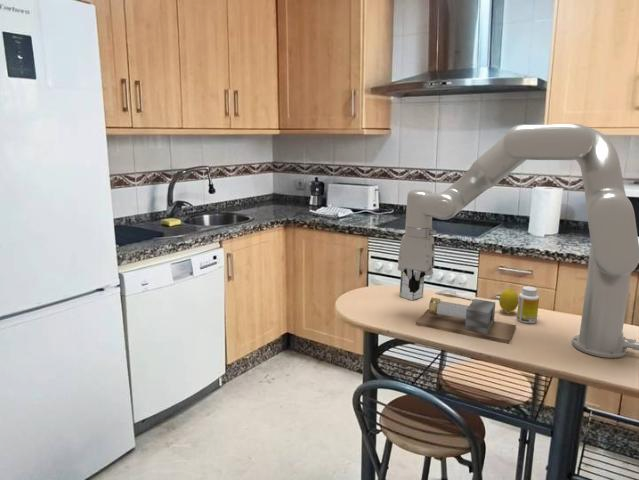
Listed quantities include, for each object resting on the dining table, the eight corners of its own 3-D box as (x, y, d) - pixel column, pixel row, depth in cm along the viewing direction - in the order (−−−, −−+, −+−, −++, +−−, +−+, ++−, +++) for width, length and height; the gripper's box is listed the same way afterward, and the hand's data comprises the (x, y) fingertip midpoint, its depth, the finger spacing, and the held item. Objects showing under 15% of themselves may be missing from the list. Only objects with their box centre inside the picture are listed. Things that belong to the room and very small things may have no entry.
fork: (492, 313, 162) (494, 305, 161) (432, 295, 172) (434, 287, 172) (495, 310, 164) (496, 302, 164) (435, 292, 175) (436, 285, 174)
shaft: (474, 318, 145) (475, 302, 143) (470, 324, 140) (472, 307, 139) (433, 311, 150) (434, 295, 149) (428, 316, 146) (429, 300, 145)
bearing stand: (515, 328, 143) (518, 304, 141) (509, 343, 133) (511, 318, 131) (427, 312, 155) (428, 290, 153) (415, 324, 145) (416, 301, 143)
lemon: (519, 312, 155) (522, 288, 153) (513, 317, 151) (515, 292, 149) (502, 308, 159) (504, 284, 157) (495, 313, 155) (497, 288, 153)
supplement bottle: (540, 322, 147) (544, 290, 145) (525, 325, 145) (529, 292, 143) (527, 316, 152) (530, 284, 150) (512, 318, 150) (515, 286, 148)
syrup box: (410, 293, 173) (412, 253, 170) (423, 297, 168) (426, 256, 165) (399, 296, 169) (401, 255, 166) (412, 301, 165) (415, 259, 162)
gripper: (446, 233, 145) (441, 292, 149) (398, 227, 152) (394, 283, 156) (439, 237, 139) (434, 299, 143) (389, 231, 146) (385, 290, 150)
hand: (413, 291), depth 150 cm, fingers closed
